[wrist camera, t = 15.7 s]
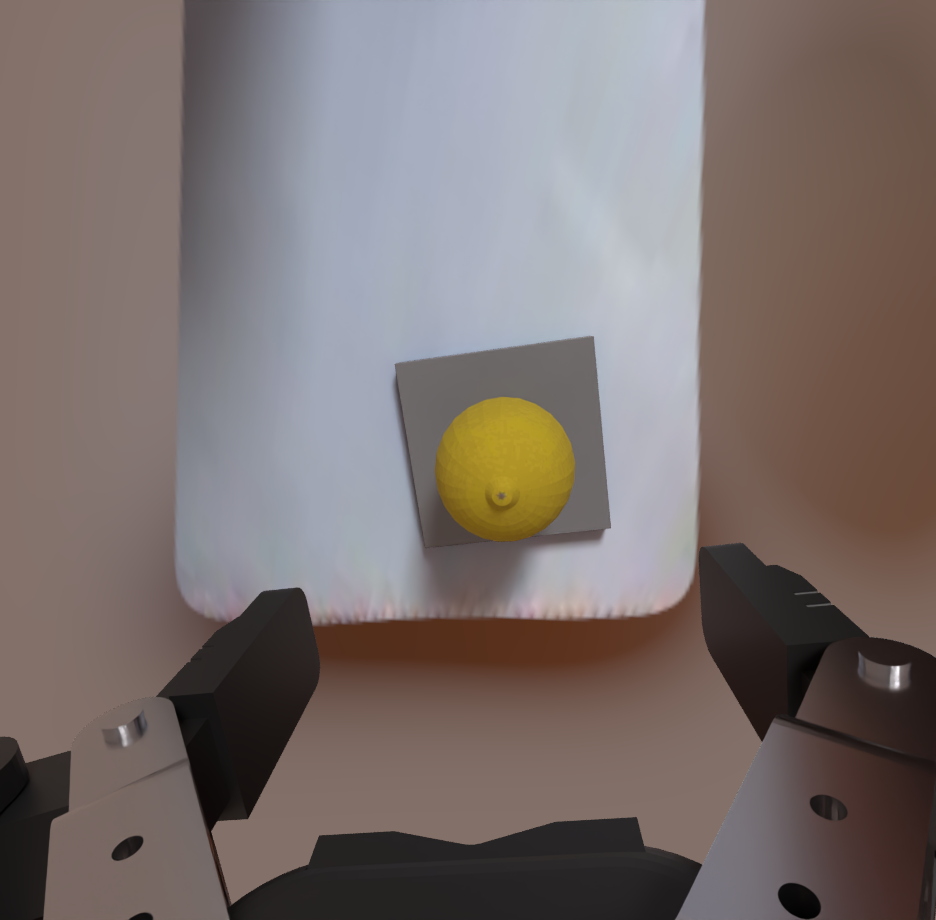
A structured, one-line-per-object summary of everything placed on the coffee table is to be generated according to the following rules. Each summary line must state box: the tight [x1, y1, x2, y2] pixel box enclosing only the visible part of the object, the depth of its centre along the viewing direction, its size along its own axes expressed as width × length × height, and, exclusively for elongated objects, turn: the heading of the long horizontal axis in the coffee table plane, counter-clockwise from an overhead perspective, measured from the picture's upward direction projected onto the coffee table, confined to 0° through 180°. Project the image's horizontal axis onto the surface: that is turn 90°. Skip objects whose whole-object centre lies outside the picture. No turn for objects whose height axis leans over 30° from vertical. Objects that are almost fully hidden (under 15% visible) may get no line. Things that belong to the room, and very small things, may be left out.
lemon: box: [435, 397, 575, 542], centre depth 23 cm, size 6×6×8 cm
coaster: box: [395, 336, 611, 548], centre depth 28 cm, size 9×9×1 cm
